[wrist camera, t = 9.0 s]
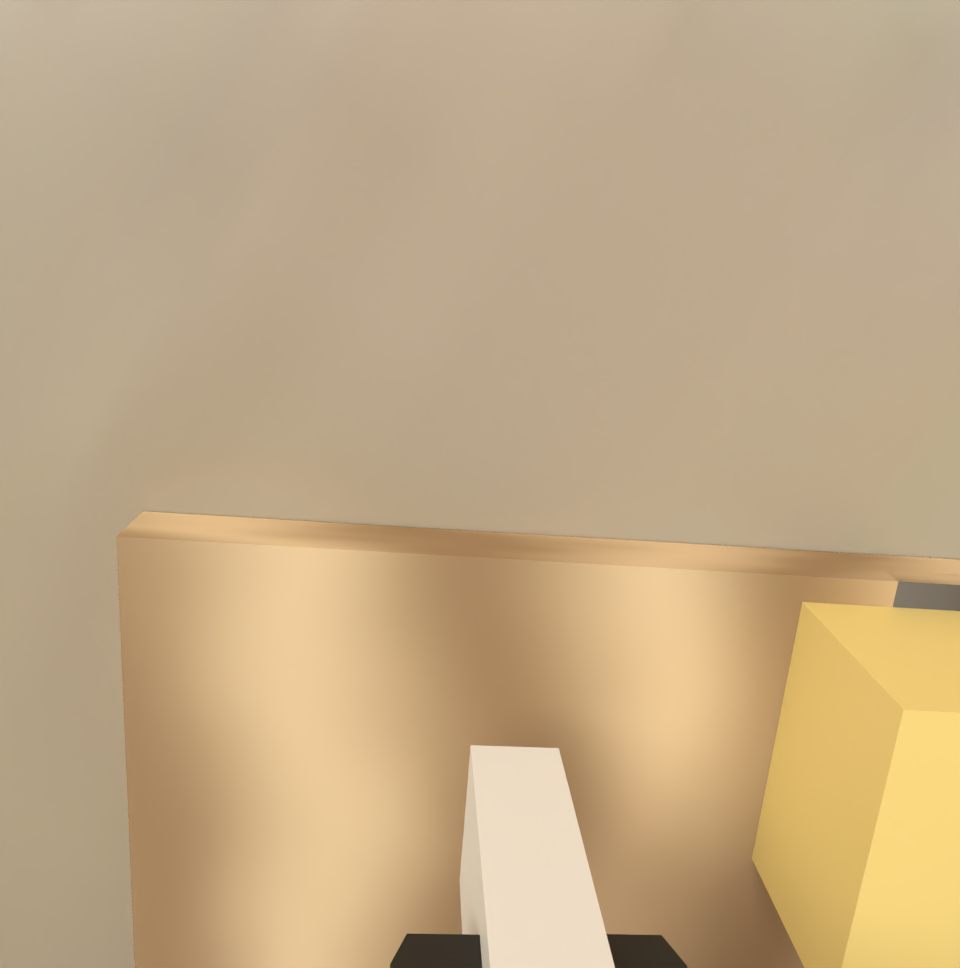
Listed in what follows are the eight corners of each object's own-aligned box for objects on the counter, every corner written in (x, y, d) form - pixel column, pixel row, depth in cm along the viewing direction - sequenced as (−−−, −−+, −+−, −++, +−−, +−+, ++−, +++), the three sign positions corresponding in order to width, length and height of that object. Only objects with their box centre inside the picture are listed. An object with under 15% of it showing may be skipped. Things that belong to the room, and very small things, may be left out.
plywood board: (162, 1080, 22) (142, 1140, 21) (142, 511, 18) (116, 536, 16) (1153, 1103, 23) (1199, 1161, 22) (1351, 583, 19) (1425, 611, 18)
